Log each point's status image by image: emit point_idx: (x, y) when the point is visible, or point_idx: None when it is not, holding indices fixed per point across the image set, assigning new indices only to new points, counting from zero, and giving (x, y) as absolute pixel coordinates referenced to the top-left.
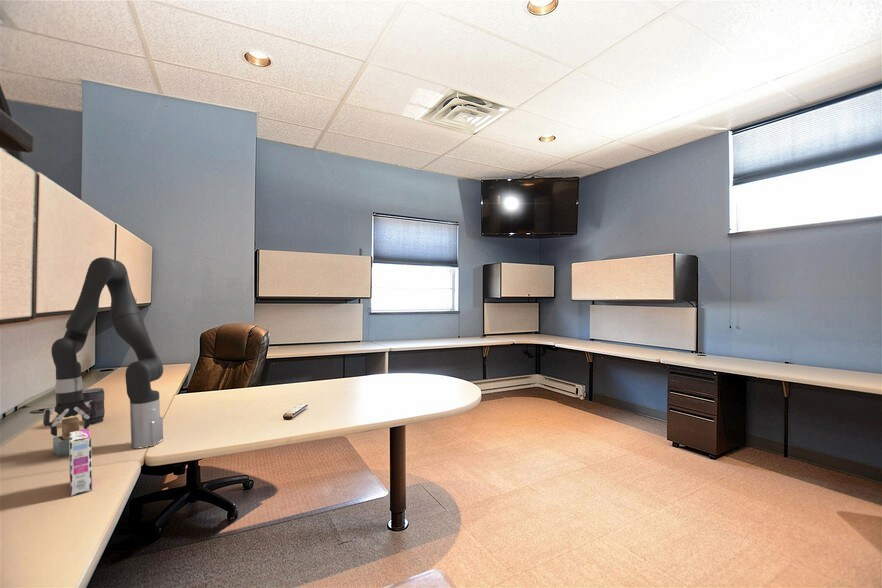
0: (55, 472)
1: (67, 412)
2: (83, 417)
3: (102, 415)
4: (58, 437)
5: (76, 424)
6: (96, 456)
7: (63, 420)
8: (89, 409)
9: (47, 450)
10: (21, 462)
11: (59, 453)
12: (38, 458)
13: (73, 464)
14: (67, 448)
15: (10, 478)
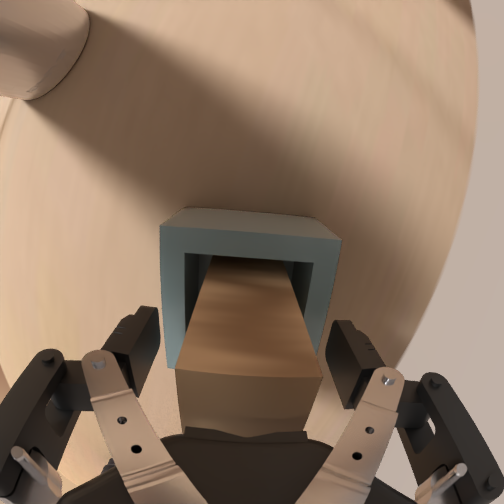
0: (379, 29)
1: (290, 488)
2: None
3: (105, 470)
4: None
5: (209, 330)
6: (209, 50)
7: (300, 424)
8: (61, 441)
9: None
10: (400, 302)
11: (318, 222)
12: (359, 294)
13: None
14: (285, 222)
15: (469, 142)
